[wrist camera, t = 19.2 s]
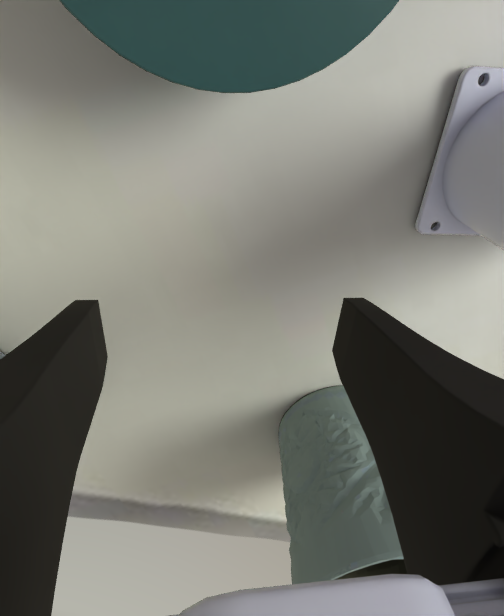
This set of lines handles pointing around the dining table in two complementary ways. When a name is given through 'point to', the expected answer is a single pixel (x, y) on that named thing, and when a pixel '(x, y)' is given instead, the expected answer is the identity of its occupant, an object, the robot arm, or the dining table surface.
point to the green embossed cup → (334, 494)
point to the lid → (231, 37)
